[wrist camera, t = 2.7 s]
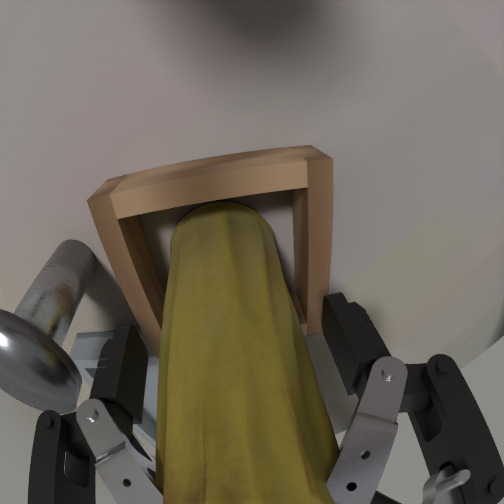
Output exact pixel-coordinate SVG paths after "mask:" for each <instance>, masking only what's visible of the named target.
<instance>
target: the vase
mask: <svg viewBox="0 0 504 504" xmlns="http://www.w3.org/2000/svg"><path fill="white" fill-rule="evenodd" d="M170 256H171V259H170V269H169V276H168V282H167V289H166V293H165V302H164V310H163V324H162V332H161V341H160V352H159V371H158V392H157V424H156V483H157V484H158V485H159V486H160V488H161V489H162V490H163V504H335V502H334V500H333V498H332V497H331V494H330V492H329V490H328V488H327V486H326V483H327V480H328V478H329V476H330V473H331V471H332V469H333V467H334V465H335V463H336V461H337V458H338V456H339V454H340V450H339V447H338V444H337V440H336V438H335V434H334V431H333V427H332V424H331V421H330V418H329V415H328V412H327V409H326V406H325V403H324V400H323V397H322V394H321V391H320V389H319V385H318V382H317V379H316V375H315V372H314V369H313V365H312V362H311V359H310V356H309V353H308V349H307V346H306V342H305V338H304V335H303V331H302V328H301V325H300V322H299V319H298V316H297V313H296V310H295V307H294V305H293V302H292V299H291V296H290V294H289V291H288V288H287V285H286V283H285V281H284V277H283V272H282V268H281V263H280V260H279V256H278V253H277V249H276V245H275V237H274V233H273V231H272V229H271V228H270V226H269V224H268V223H267V222H266V221H265V220H264V219H263V218H262V217H261V216H260V215H259V214H258V213H257V212H256V211H254V210H253V209H251V208H249V207H247V206H244V205H241V204H238V203H233V202H215V203H210V204H206V205H203V206H201V207H198V208H196V209H194V210H193V211H191V212H189V213H188V214H187V215H186V216H185V217H184V218H183V219H182V220H181V221H180V222H179V223H178V225H177V226H176V228H175V230H174V232H173V234H172V237H171V242H170Z"/></svg>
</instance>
